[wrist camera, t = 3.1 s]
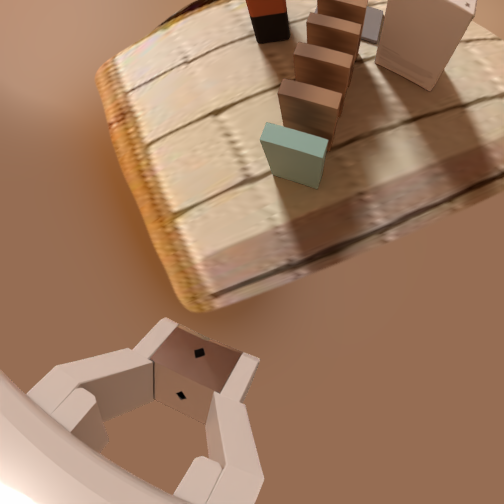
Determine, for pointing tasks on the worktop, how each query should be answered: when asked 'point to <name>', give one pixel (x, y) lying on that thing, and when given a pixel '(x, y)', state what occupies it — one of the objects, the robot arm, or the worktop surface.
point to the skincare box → (422, 37)
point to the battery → (269, 20)
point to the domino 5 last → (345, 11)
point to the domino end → (294, 154)
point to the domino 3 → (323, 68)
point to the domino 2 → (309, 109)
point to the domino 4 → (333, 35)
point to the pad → (370, 24)
